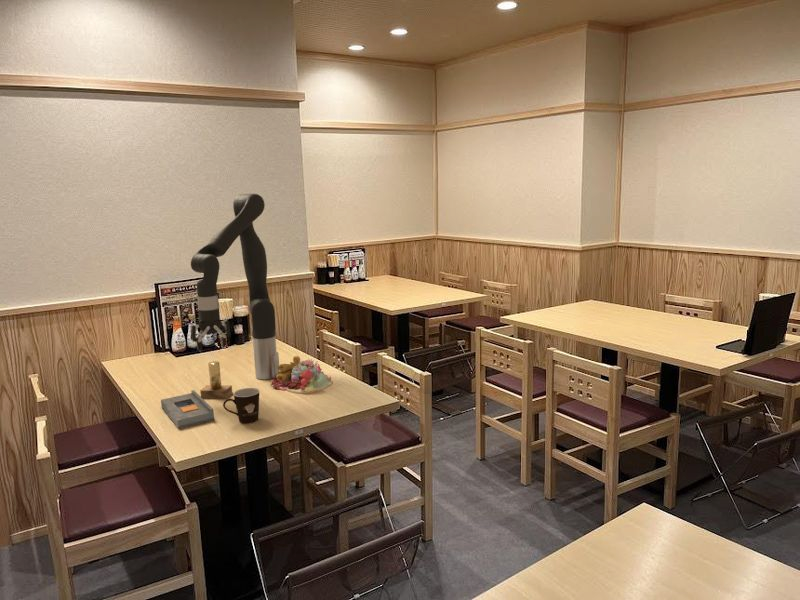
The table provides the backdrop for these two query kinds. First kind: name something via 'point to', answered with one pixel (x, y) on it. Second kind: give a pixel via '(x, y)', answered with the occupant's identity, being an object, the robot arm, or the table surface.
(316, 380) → the candy landscape model
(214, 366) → the brass peg
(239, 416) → the coffee mug
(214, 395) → the brown wooden block
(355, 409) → the table surface
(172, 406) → the rack plate
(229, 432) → the table surface
